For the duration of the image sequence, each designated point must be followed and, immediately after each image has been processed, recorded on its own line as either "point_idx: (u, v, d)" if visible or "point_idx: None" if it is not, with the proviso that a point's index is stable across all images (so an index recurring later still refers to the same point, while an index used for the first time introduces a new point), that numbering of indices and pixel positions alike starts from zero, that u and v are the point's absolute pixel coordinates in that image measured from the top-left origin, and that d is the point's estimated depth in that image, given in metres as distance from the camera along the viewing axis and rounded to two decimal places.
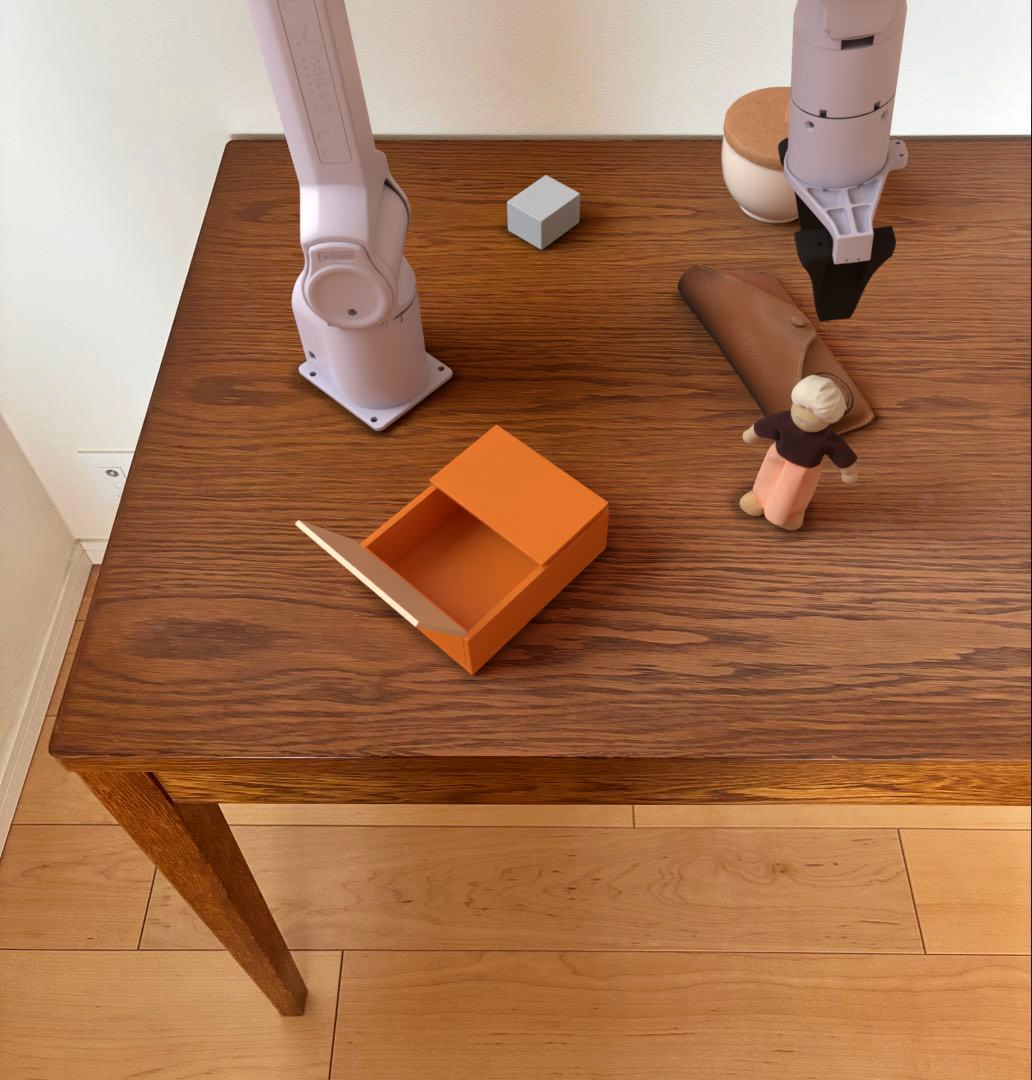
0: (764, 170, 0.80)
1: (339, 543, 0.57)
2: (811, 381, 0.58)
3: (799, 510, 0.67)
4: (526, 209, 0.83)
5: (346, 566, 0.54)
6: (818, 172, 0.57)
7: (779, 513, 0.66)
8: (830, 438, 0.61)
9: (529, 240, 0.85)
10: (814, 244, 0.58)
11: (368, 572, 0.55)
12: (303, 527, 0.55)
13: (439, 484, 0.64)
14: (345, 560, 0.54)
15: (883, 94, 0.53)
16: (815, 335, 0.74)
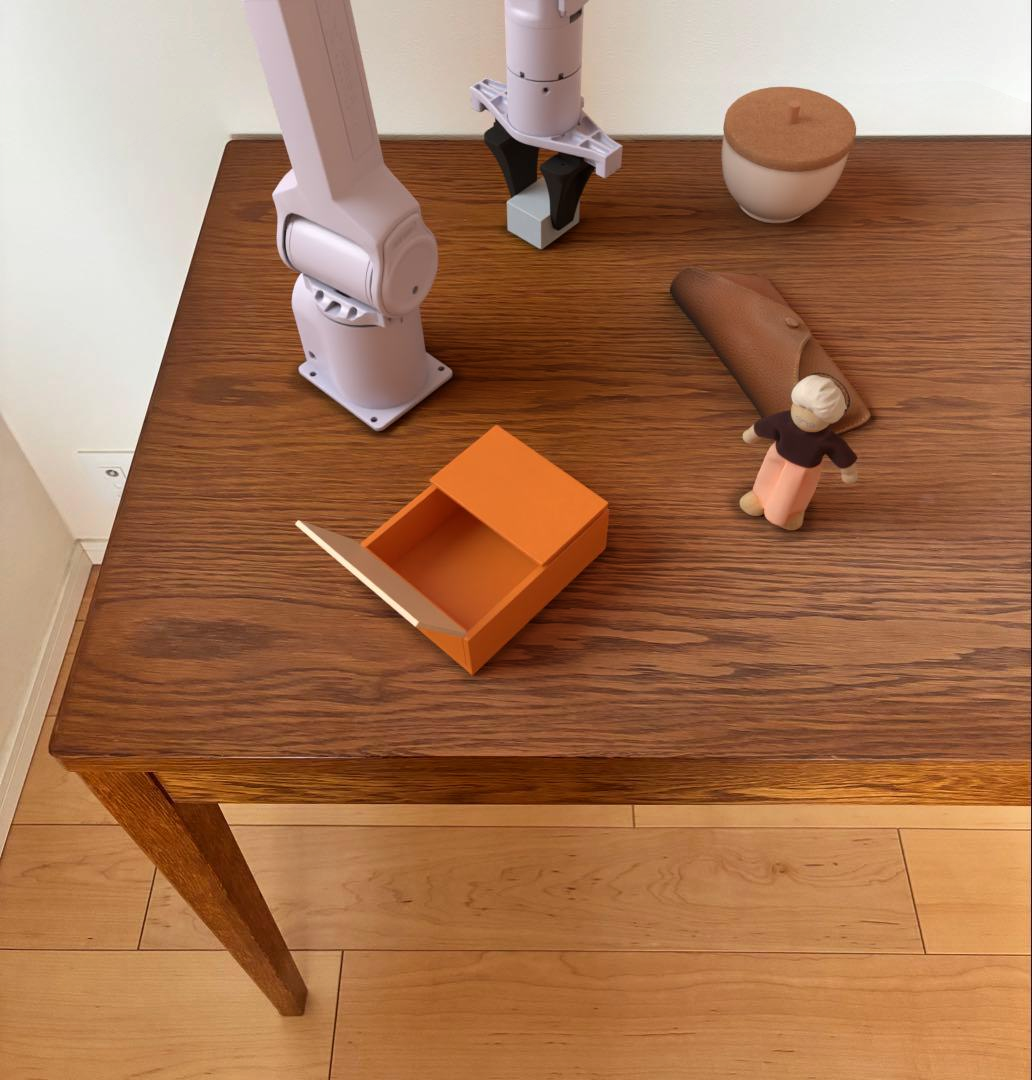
0: (764, 170, 0.80)
1: (339, 543, 0.57)
2: (811, 381, 0.58)
3: (799, 510, 0.67)
4: (526, 209, 0.83)
5: (346, 566, 0.54)
6: (555, 124, 0.75)
7: (779, 513, 0.66)
8: (830, 438, 0.61)
9: (529, 240, 0.85)
10: (561, 166, 0.77)
11: (368, 572, 0.55)
12: (303, 527, 0.55)
13: (439, 484, 0.64)
14: (345, 560, 0.54)
15: None
16: (809, 335, 0.74)
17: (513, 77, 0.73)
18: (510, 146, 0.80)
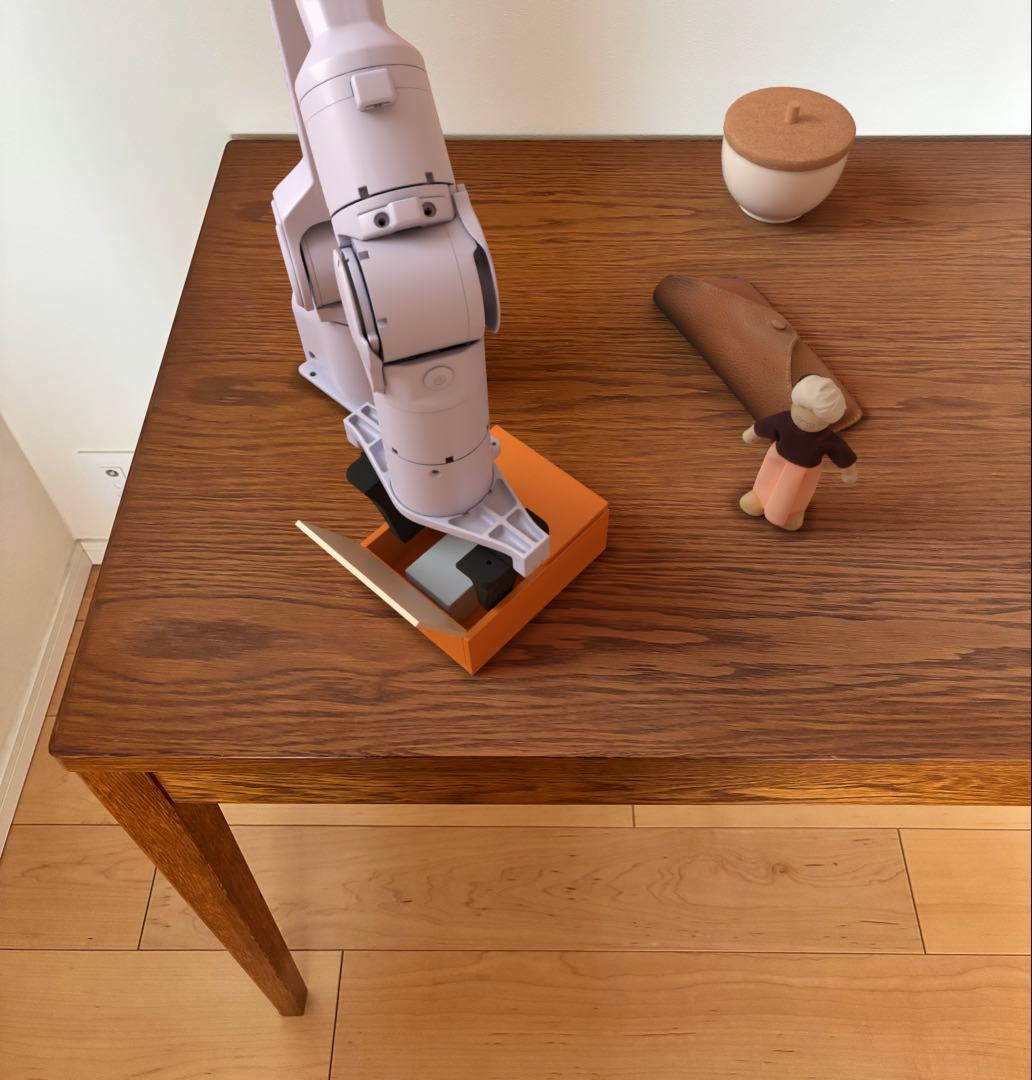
0: (764, 170, 0.80)
1: (339, 543, 0.57)
2: (811, 381, 0.58)
3: (799, 510, 0.67)
4: (430, 585, 0.61)
5: (346, 566, 0.54)
6: (453, 504, 0.53)
7: (779, 513, 0.66)
8: (830, 438, 0.61)
9: None
10: (485, 566, 0.54)
11: (368, 572, 0.55)
12: (303, 527, 0.55)
13: None
14: (345, 560, 0.54)
15: (399, 449, 0.49)
16: (797, 337, 0.74)
17: (389, 451, 0.51)
18: (382, 489, 0.58)
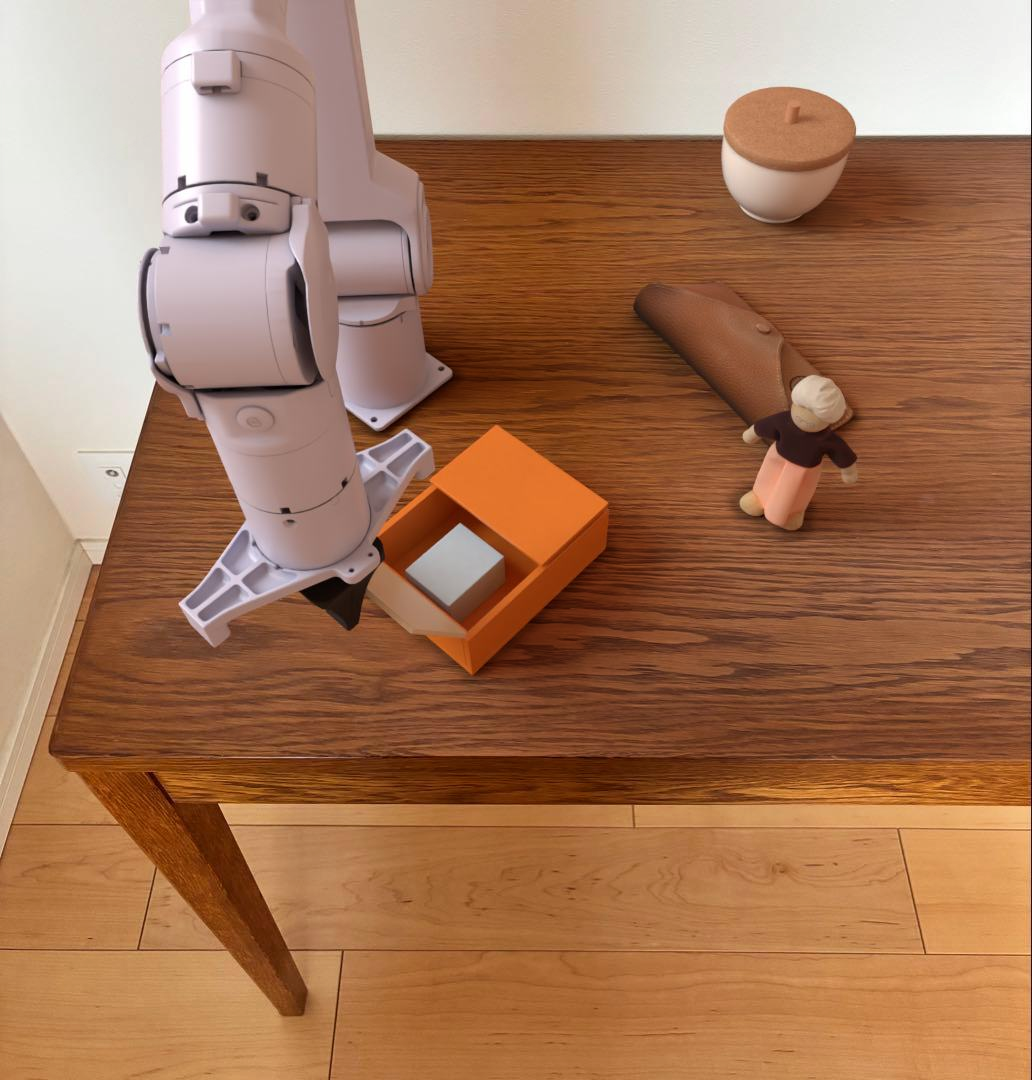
0: (764, 170, 0.80)
1: None
2: (811, 381, 0.58)
3: (799, 510, 0.67)
4: (430, 585, 0.61)
5: None
6: None
7: (779, 513, 0.66)
8: (830, 438, 0.61)
9: None
10: None
11: None
12: None
13: (439, 484, 0.64)
14: None
15: (234, 485, 0.43)
16: (783, 339, 0.74)
17: None
18: None
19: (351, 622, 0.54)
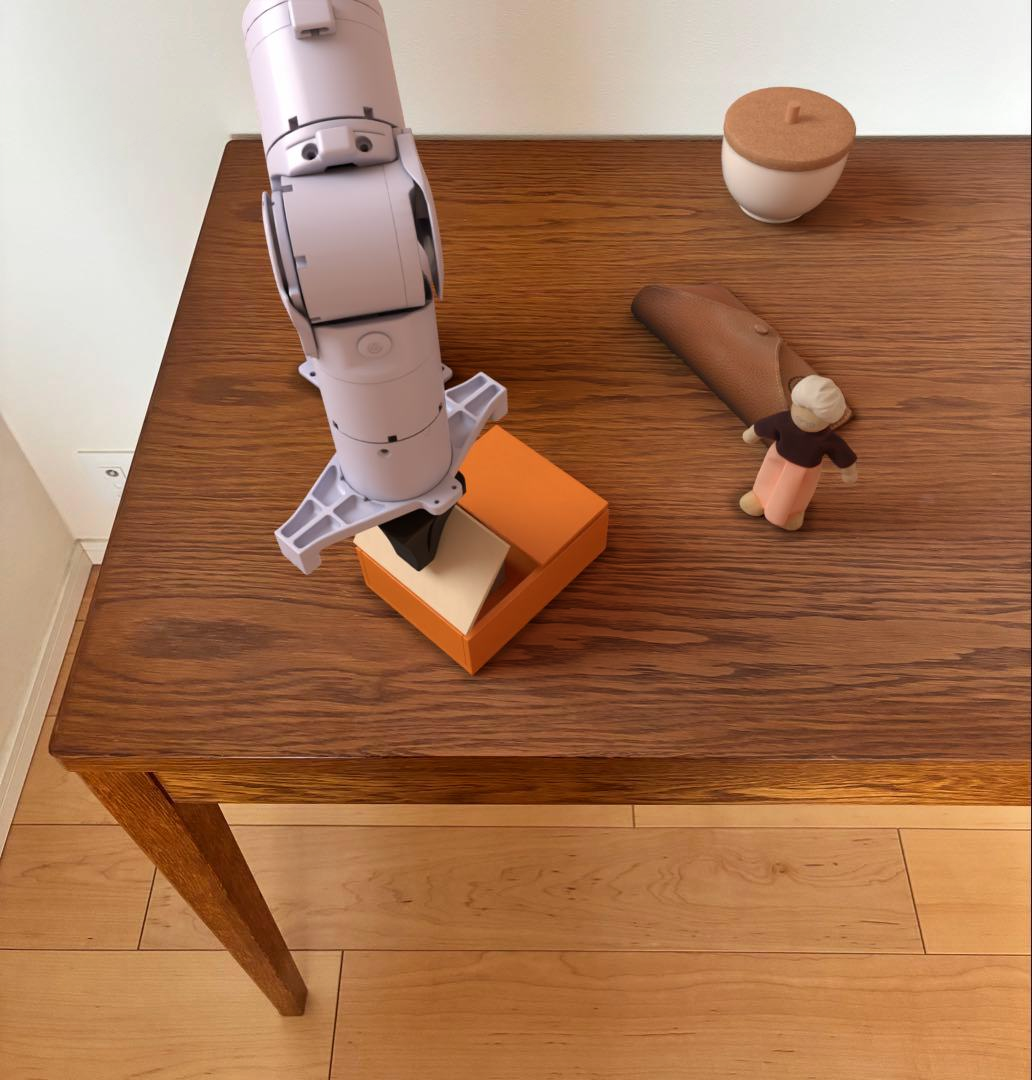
0: (764, 170, 0.80)
1: None
2: (811, 381, 0.58)
3: (799, 510, 0.67)
4: None
5: None
6: (338, 458, 0.49)
7: (779, 513, 0.66)
8: (830, 438, 0.61)
9: None
10: None
11: None
12: None
13: None
14: None
15: (339, 422, 0.45)
16: (781, 340, 0.74)
17: None
18: None
19: (428, 557, 0.56)
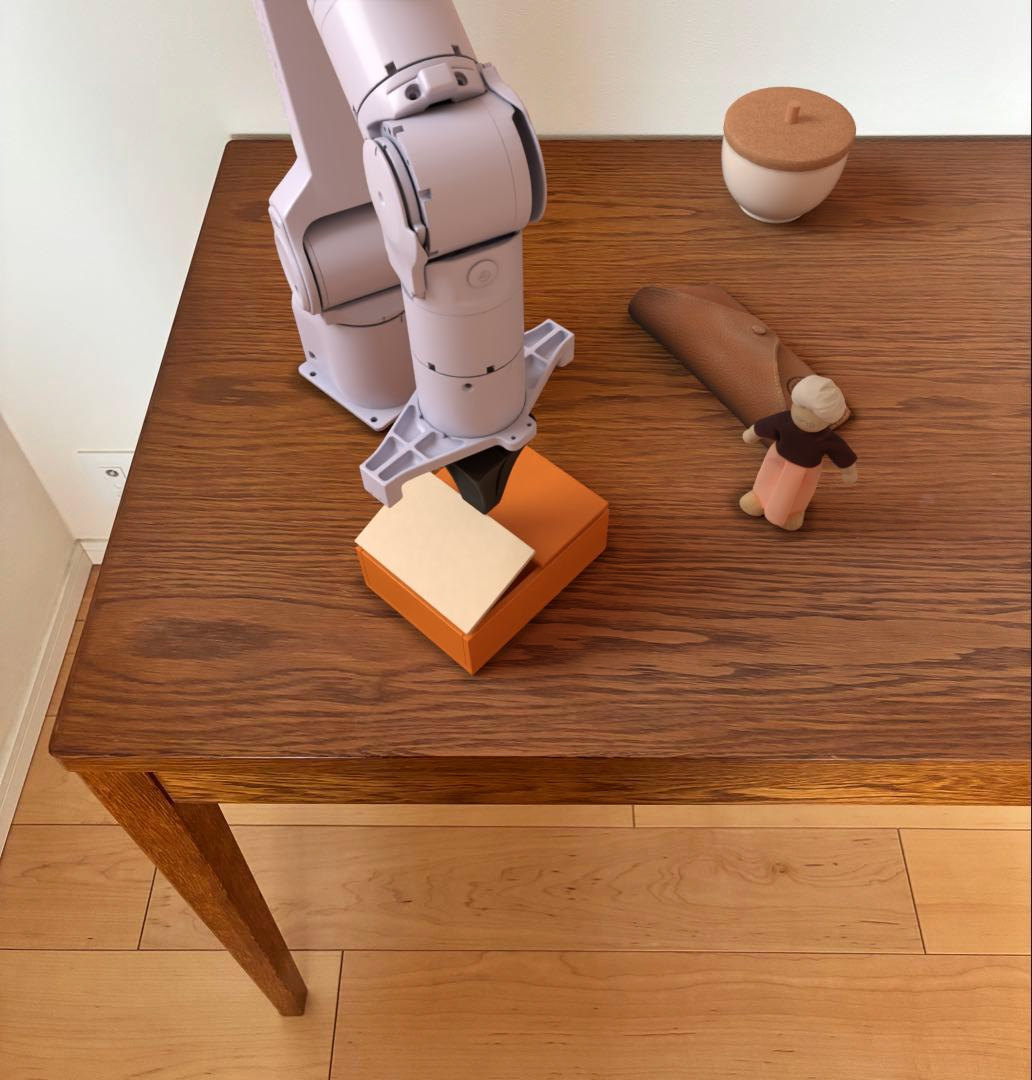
0: (764, 170, 0.80)
1: None
2: (811, 381, 0.58)
3: (799, 510, 0.67)
4: None
5: None
6: (418, 397, 0.51)
7: (779, 513, 0.66)
8: (830, 438, 0.61)
9: None
10: None
11: None
12: None
13: None
14: None
15: (438, 362, 0.47)
16: (779, 340, 0.74)
17: None
18: None
19: (496, 499, 0.59)
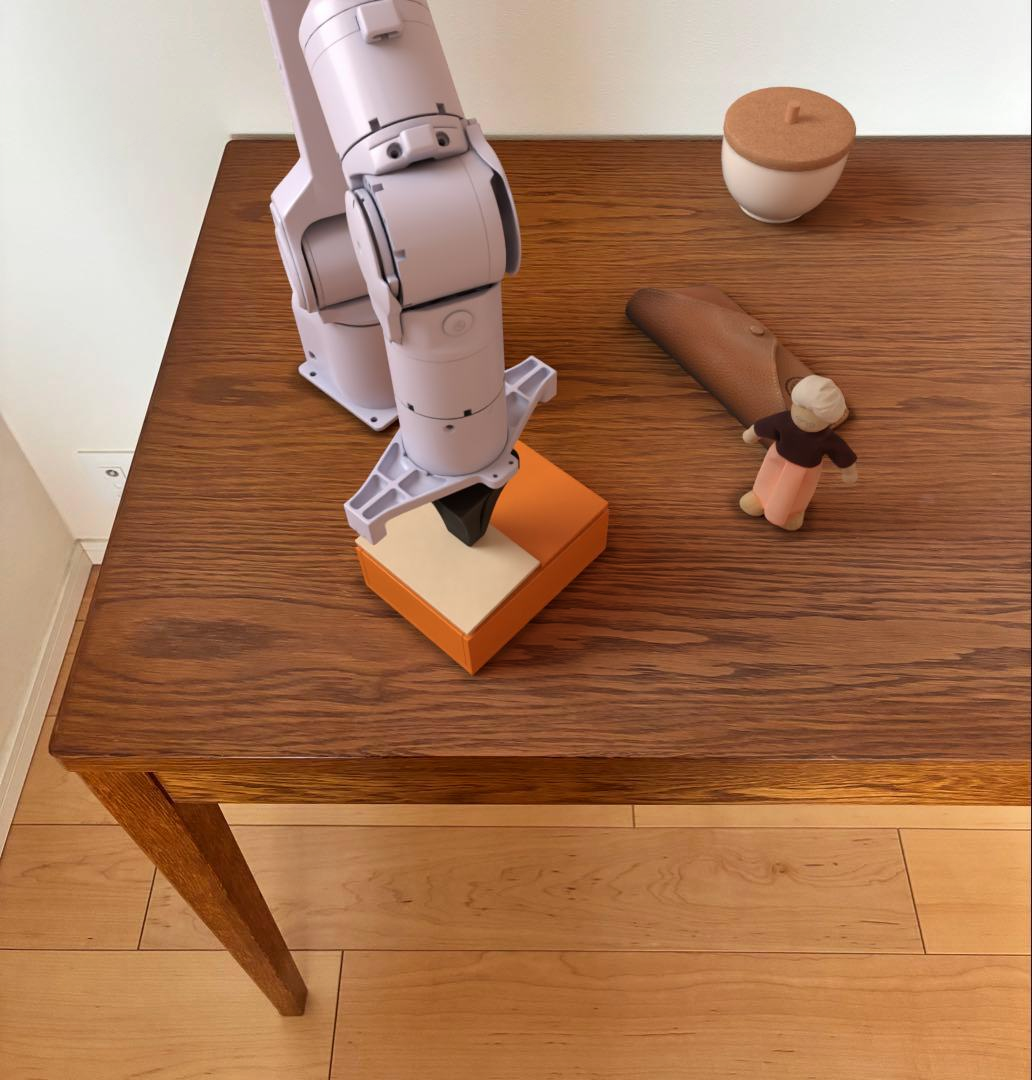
0: (764, 170, 0.80)
1: None
2: (811, 381, 0.58)
3: (799, 510, 0.67)
4: None
5: None
6: (402, 435, 0.52)
7: (779, 513, 0.66)
8: (830, 438, 0.61)
9: None
10: None
11: None
12: None
13: None
14: None
15: (416, 403, 0.48)
16: (776, 341, 0.74)
17: None
18: None
19: (480, 531, 0.60)
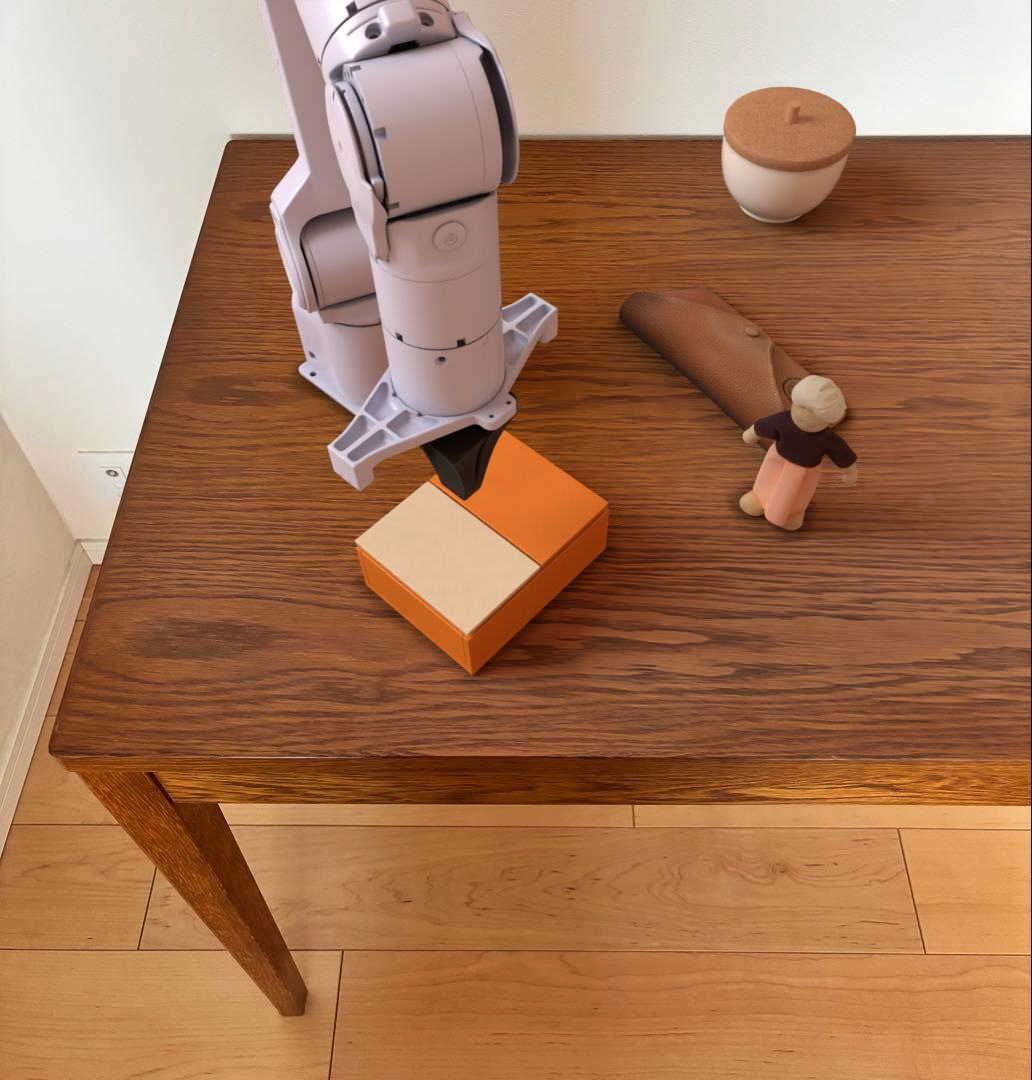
0: (764, 170, 0.80)
1: None
2: (811, 381, 0.58)
3: (799, 510, 0.67)
4: None
5: (475, 517, 0.62)
6: (391, 373, 0.48)
7: (779, 513, 0.66)
8: (830, 438, 0.61)
9: None
10: None
11: None
12: None
13: (439, 484, 0.64)
14: None
15: (405, 332, 0.44)
16: (772, 342, 0.74)
17: None
18: None
19: (476, 484, 0.56)
